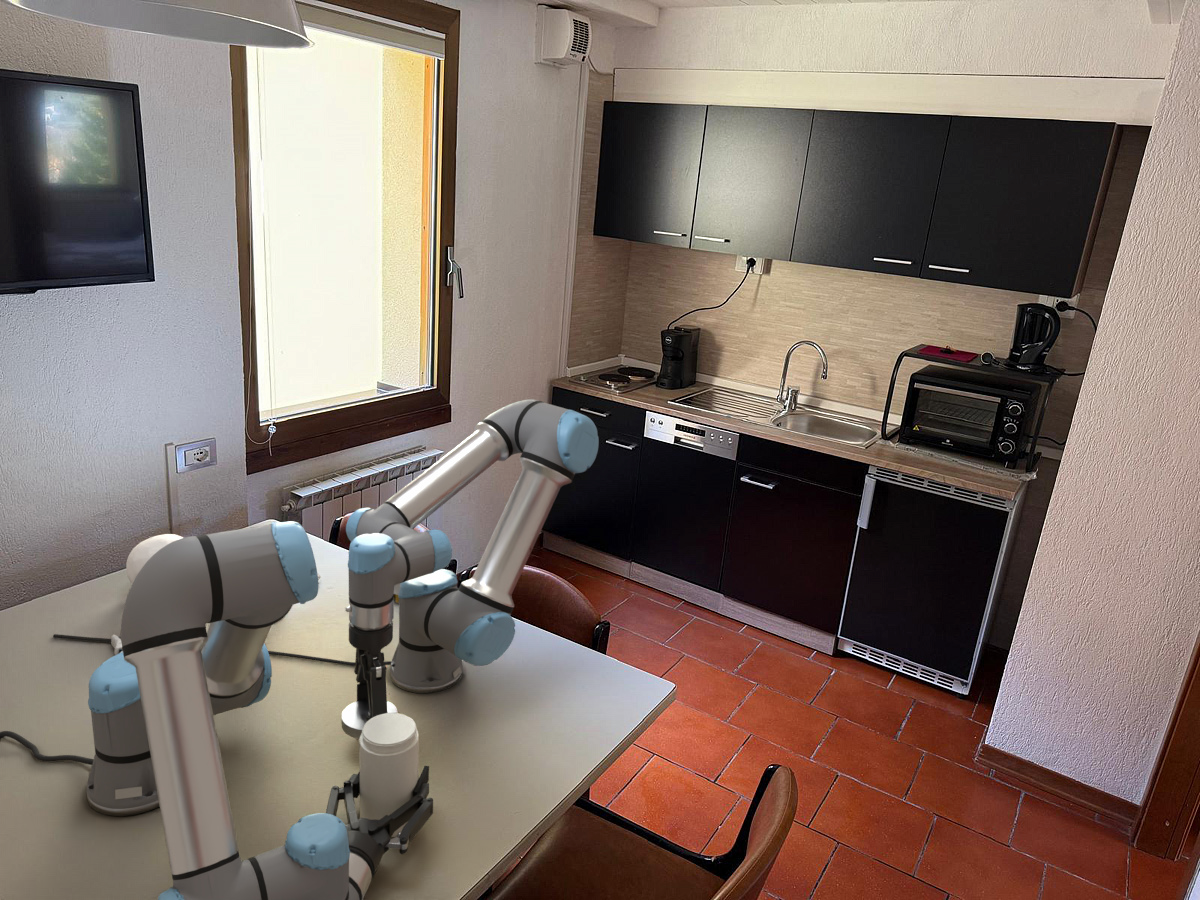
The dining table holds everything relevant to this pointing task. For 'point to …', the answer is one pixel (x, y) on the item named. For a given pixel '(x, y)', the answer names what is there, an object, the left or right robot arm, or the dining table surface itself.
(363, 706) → the lid
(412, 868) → the dining table surface
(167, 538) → the skull
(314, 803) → the dining table surface
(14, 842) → the dining table surface
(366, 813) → the jar
